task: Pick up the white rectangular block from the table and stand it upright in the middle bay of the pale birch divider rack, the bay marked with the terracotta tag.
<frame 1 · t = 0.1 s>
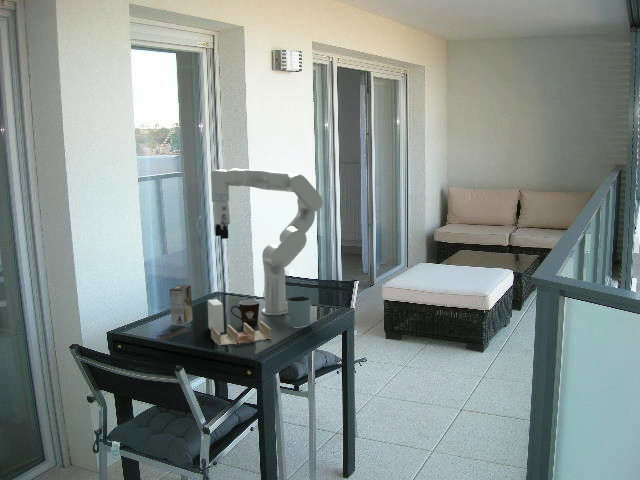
hand: (221, 237, 304), 37 cm above the table, tool pointing down, fingers open, 9 cm apart
coffee box: (182, 323, 302), on the table
coffee mug: (246, 325, 298), on the table
white rectangular block: (216, 329, 291), on the table
divider rack: (241, 338, 277), on the table
grey plant pot: (299, 326, 295), on the table
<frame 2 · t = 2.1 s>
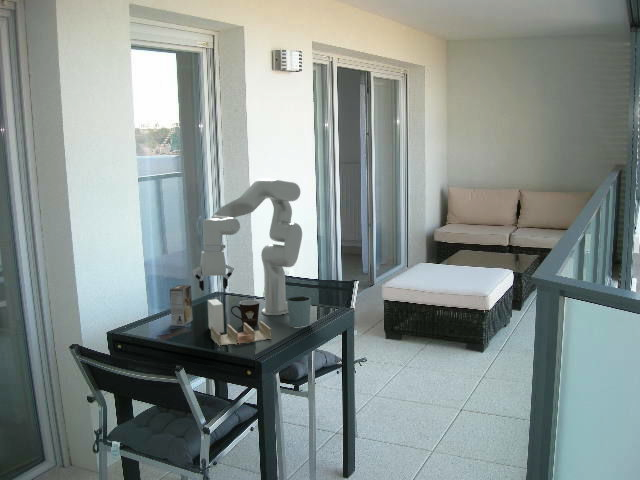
hand: (213, 289, 287), 18 cm above the table, tool pointing down, fingers open, 9 cm apart
nothing on the table moved.
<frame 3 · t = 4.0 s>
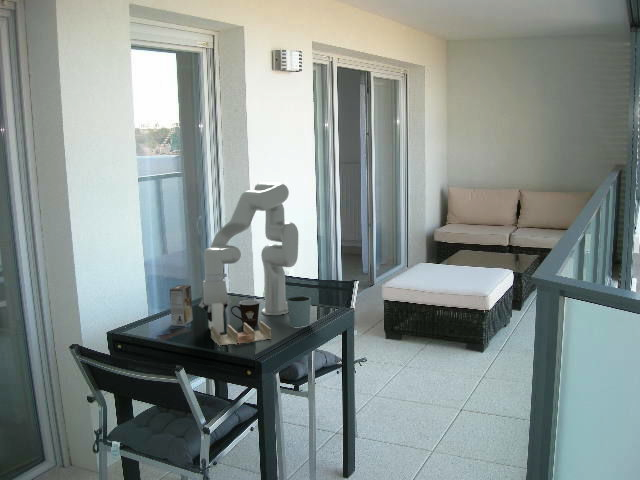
hand: (215, 319, 290), 4 cm above the table, tool pointing down, fingers closed on white rectangular block, 4 cm apart
white rectangular block: (216, 329, 290), on the table, touching gripper
everything else where it was.
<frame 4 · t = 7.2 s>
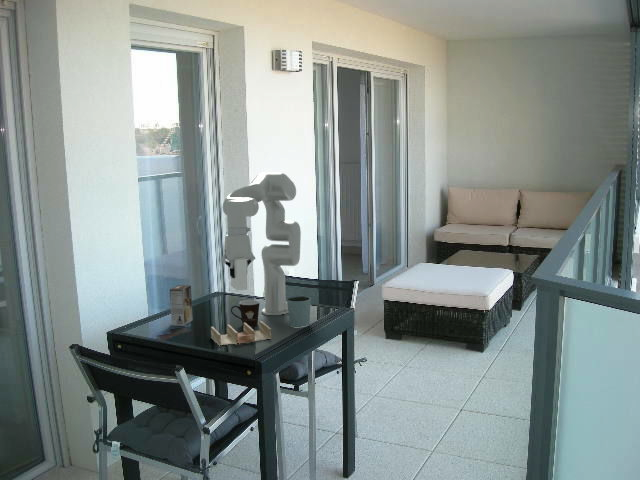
hand: (238, 276, 274), 25 cm above the table, tool pointing down, fingers closed on white rectangular block, 4 cm apart
white rectangular block: (239, 287, 274), point 21 cm above the table, touching gripper
everything else where it was.
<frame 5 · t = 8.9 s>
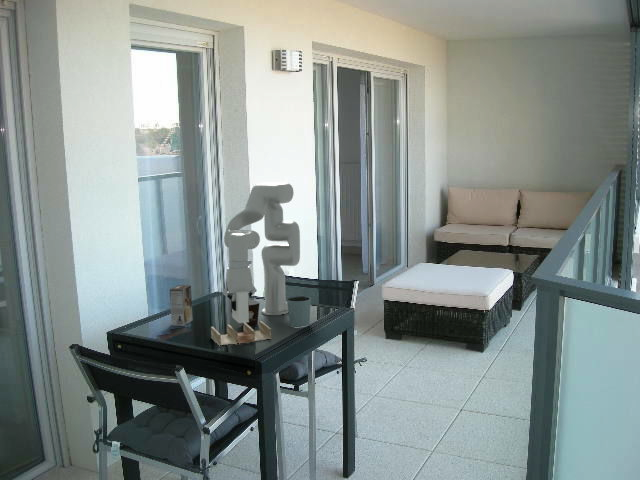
hand: (240, 309, 275), 12 cm above the table, tool pointing down, fingers closed on white rectangular block, 4 cm apart
white rectangular block: (240, 319, 276), point 8 cm above the table, touching gripper
everything else where it was.
when the fingers open (6 cm above the table, at t = 10.6 s): white rectangular block stays where it is, resting on divider rack.
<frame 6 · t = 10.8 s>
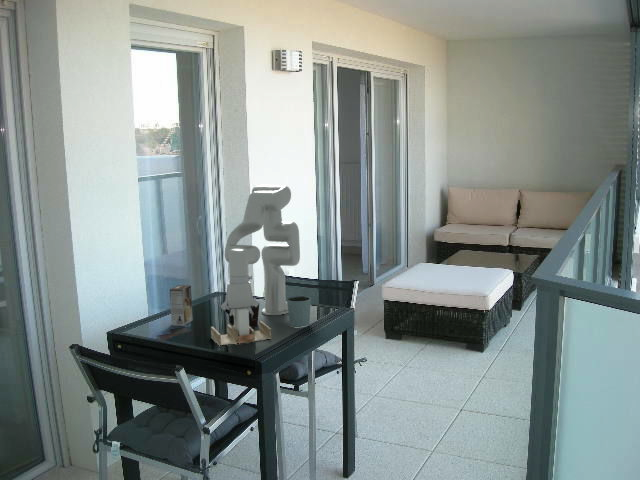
hand: (240, 323, 276), 6 cm above the table, tool pointing down, fingers open, 6 cm apart
white rectangular block: (241, 336, 277), point 1 cm above the table, touching divider rack
everything else where it was.
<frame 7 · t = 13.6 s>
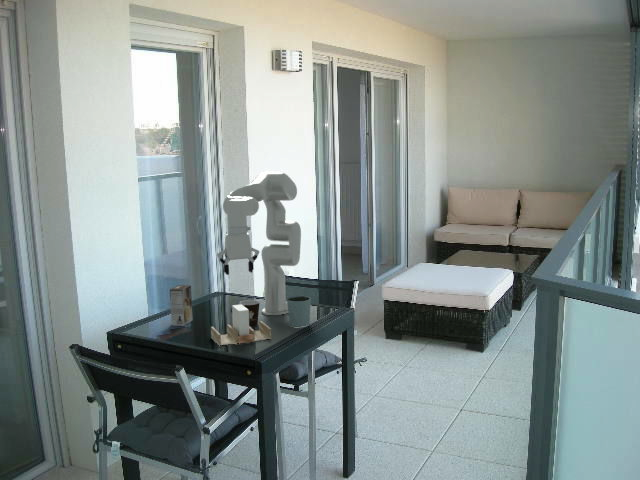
hand: (238, 273, 275), 26 cm above the table, tool pointing down, fingers open, 9 cm apart
nothing on the table moved.
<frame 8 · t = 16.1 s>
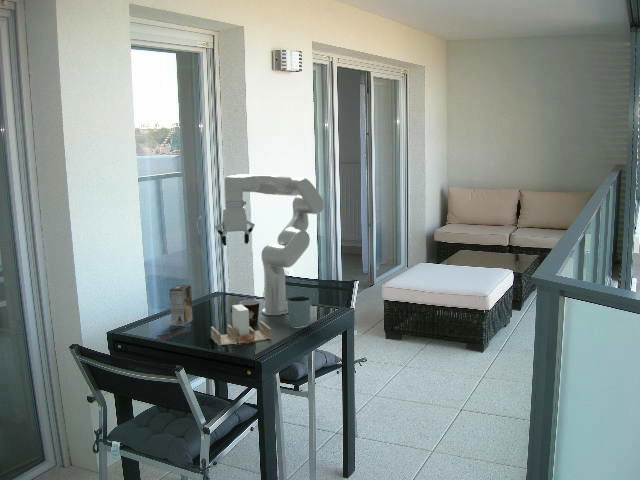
hand: (235, 244, 298), 34 cm above the table, tool pointing down, fingers open, 9 cm apart
nothing on the table moved.
at the end: white rectangular block 0.1 cm off-centre on the divider rack, point 0.8 cm above the divider rack's base; white rectangular block tilted 0°; the gripper is holding nothing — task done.
